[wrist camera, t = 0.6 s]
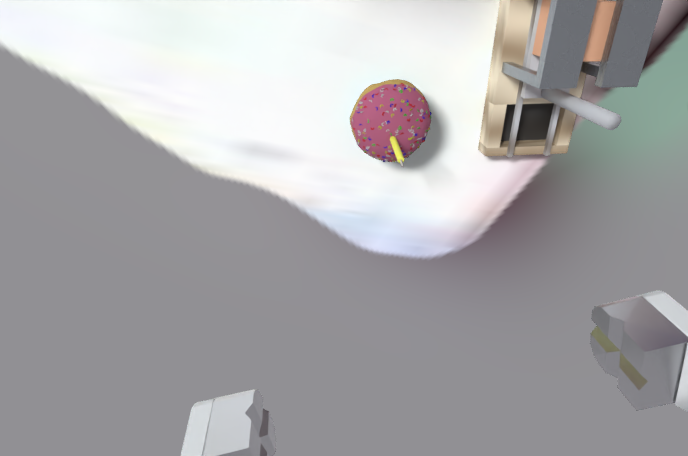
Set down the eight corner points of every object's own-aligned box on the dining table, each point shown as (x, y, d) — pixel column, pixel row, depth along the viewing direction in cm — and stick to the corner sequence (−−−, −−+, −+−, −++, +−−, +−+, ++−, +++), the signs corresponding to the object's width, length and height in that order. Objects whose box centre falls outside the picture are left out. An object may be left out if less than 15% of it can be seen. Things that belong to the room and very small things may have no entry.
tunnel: (516, -25, 45) (562, -24, 37) (608, -25, 46) (670, -24, 38) (501, 71, 49) (539, 88, 42) (585, 70, 50) (636, 86, 42)
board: (527, -185, 41) (544, -196, 38) (632, -181, 42) (656, -192, 39) (478, 149, 56) (487, 158, 53) (556, 146, 57) (569, 154, 54)
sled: (548, -56, 43) (634, -66, 32) (598, -56, 43) (699, -66, 33) (520, 97, 50) (583, 130, 39) (563, 96, 50) (637, 128, 40)
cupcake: (412, 148, 55) (441, 189, 44) (342, 145, 54) (355, 185, 43) (425, 74, 51) (460, 100, 40) (349, 68, 50) (365, 93, 39)
